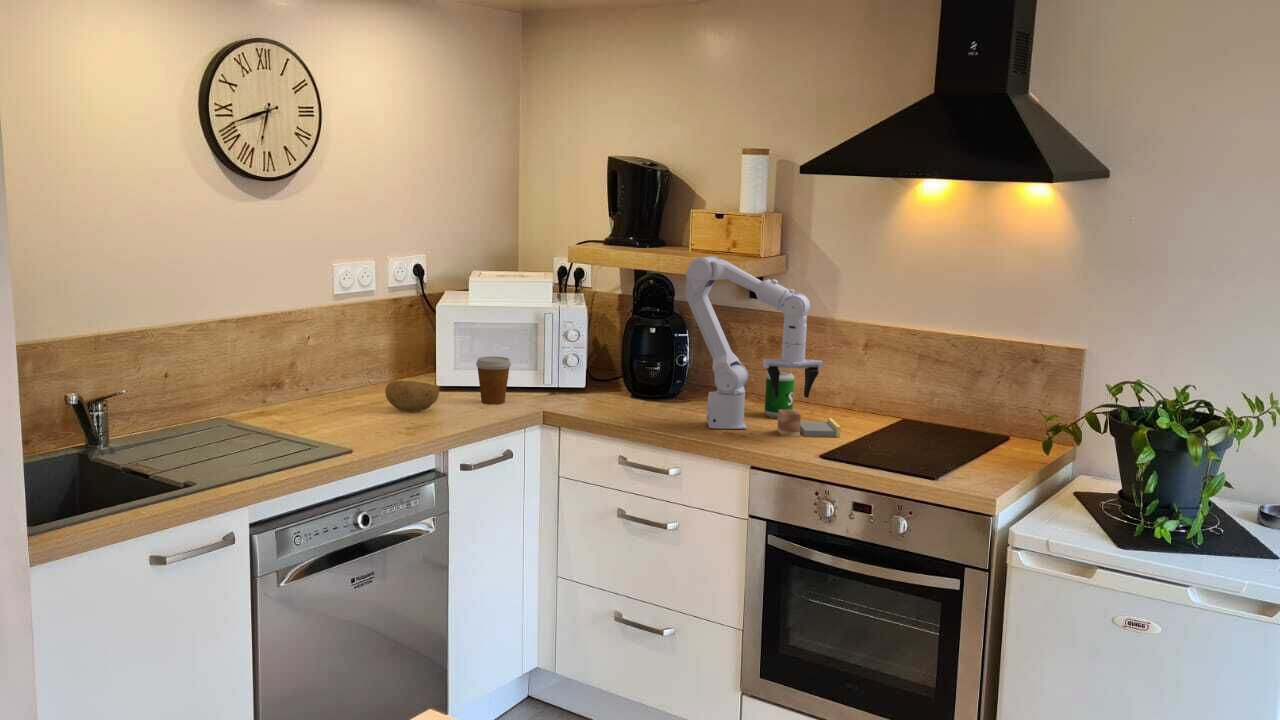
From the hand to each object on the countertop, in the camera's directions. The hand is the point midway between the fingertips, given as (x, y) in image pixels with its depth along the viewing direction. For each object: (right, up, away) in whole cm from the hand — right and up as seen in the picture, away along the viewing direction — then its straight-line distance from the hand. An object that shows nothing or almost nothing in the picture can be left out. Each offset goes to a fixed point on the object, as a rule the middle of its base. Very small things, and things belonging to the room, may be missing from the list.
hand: (791, 396), depth 281 cm
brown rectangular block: (0, -9, +2) cm, 10 cm away
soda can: (-1, -6, +21) cm, 22 cm away
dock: (+7, -9, +4) cm, 12 cm away
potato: (-97, -4, +12) cm, 98 cm away
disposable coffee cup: (-78, -3, +26) cm, 82 cm away
